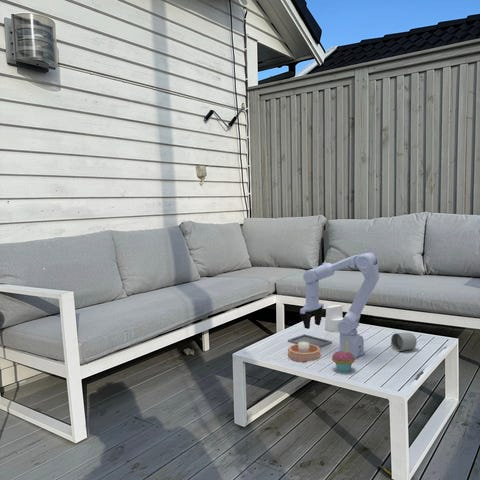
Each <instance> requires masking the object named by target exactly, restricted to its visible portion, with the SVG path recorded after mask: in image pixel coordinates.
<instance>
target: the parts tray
mask: <svg viewBox="0 0 480 480" xmlns="http://www.w3.org/2000/svg"><path fill="white" fill-rule="evenodd" d="M301 341H306V342H309V344H313V345H316V346H318V347H319V348H320V349H321V348H324V347H327V346H329V345H331V344H333V340H328V339H325V338H321V337H316V336H313V335H312V336H311V335H310V334H301V335H299V336H296V337H292V338H290V339H287V342H288V343H291V344H293V345H294V344H298V342H301Z"/></svg>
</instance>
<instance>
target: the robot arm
mask: <svg viewBox="0 0 480 480" xmlns="http://www.w3.org/2000/svg"><path fill="white" fill-rule="evenodd" d="M347 267H352V268H357V269H358V270H359V271H360V273H362V275H363V277H364V279H363V282H362V284H361V286H360V288H359V289H358V291H357V293H356V296H355V298H354V299H353V301H352V303H351V305H350V307H349V309H348V311H347V312H346V313H345V315H344V317H343V319H342V320H341V321H339V323H338V330H339V331H340V332H339V350H337V351H336V352H338V351H345V350H346V343H347V342H348V348H347V351H348V352H350V353H351V354H352V355H354V357H355V359H356V358H359V357H360V356H363V355H365V352H364V351H365V350H364V347H365V346H364V345H365V344H364V340H365V339H364V337H363V336H362V335H360V334H359V333H358V330H357V329H358V328H359V325H360V324H359V323H360V318H361V315H362V312H363V311H364V308H365V306H366V304H367V303H368V301H369V299H370V297H371V295H372V293H373V291H374V289H375V287H376V285H377V283H378V282H379V278H380V273H379V260H378V258H377V256H376V255H375V254H374V253H373V252H369V251H368V252H364V253H360V254H359V253H358V254H355V255H352V256H349V257H347V258H343V259H342V260H340V261H337V262H334V263H330V262H323V263H321V265H319V266H312V269H308V270H306V271H304V273H303V276H302V277H303V281H304V282H305V304H304V305H303V307H302V308H300V310H299V313H298V314H299V317H301V320H302V323H303V326H304V329H307V330H309V329H310V328H311V319H312V316H313V318H314V325H316V326H320V325H321V322H322V318H323V315H324V313H326V308H325V306H324V305H325V304H324V303H322V302H320V296H319V292H320V291H319V287H320V286H319V281H322V280H323V279H327V278H329V277H331V276H334V274H335V272H337V271H338V270H341V269H346V268H347ZM310 312H313V314H312V313H310Z"/></svg>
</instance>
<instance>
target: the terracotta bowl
mask: <svg viewBox="0 0 480 480" xmlns="http://www.w3.org/2000/svg"><path fill="white" fill-rule="evenodd" d="M287 355H288V359H290V360H292V361H295V362H298V363H299V362H300V363H308V362H309V361H315V360H317V359H319V358H320V357H321V348H319V347H318V346H316V345H313V344H309V353H299V352H298V344H294V343H293V344H292V345H289V346H288V348H287Z"/></svg>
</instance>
